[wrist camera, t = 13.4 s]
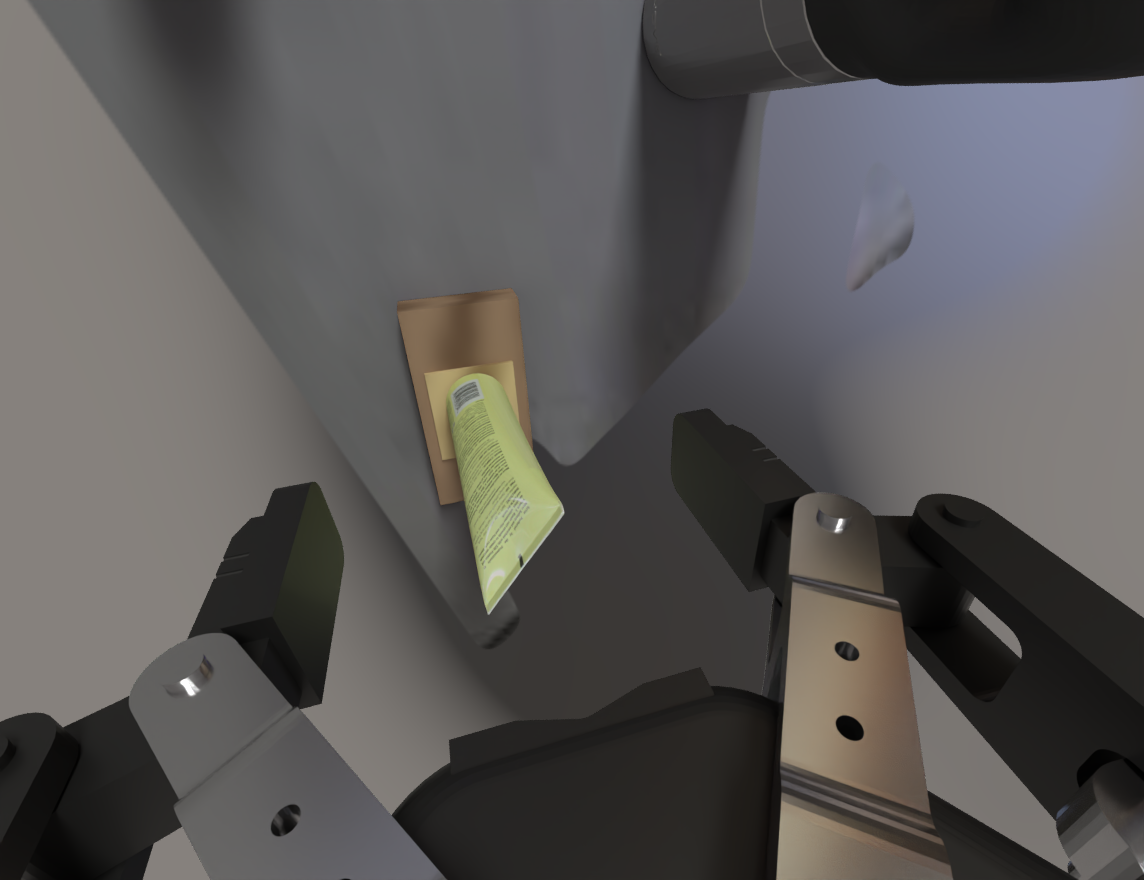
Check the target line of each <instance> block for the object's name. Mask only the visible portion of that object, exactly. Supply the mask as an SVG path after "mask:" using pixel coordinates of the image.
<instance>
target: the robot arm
mask: <svg viewBox="0 0 1144 880" xmlns="http://www.w3.org/2000/svg"><path fill="white" fill-rule="evenodd" d="M643 37H644V43H645V48H646V52H647V56H648V59H649V61H650V63H651V66H652V68H653V70H654V72H655V73H656V75H657V76H658V78H659V79H660V81H661V82H662V83H663V84H664V85H665V86H666V87H667V88H668V89H669V90H670V91H672V92H674V93H676V94H677V95H679V96H681V97H685V98H690V99H705V98H713V97H722V96H733V95H741V94H750V93H758V92H767V91H775V90H784V89H793V88H801V87H810V86H818V85H826V84H832V83H841V82H849V81H857V80H866V79H879V80H881V81H883V82H885V83H888V84H893V85H899V86H921V85H937V84H970V83H971V84H973V83H1056V82H1078V81H1099V80H1111V79H1120V78H1128V77H1136V76H1144V0H645V3H644V13H643ZM671 475H672V480H673V483H674V486H675V489H676V491H677V493H678V494H679V495H680V497H681V498H682V500H683V501H684V502H685V504H686V505H687V507H688V508H689V509H690V511H691V512H692V514H693V515H694V516H695V518H696V519H697V520H698V522H699V523H700V525H701V526H702V528H703V529H704V530H705V532H706V533H707V534H708V536H709V537H710V539H711V540H712V541H713V543H714V544H715V546H716V547H717V548H718V550H719V551H720V553H721V554H722V555H723V557H724V558H725V560H726V561H727V562H728V564H729V565H730V566H731V568H732V569H733V571H734V572H735V573H736V575H737V576H738V578H739V579H740V580H741V582H742V583H743V585H744V586H745V587H746V589H747V590H748V591H749V592H751V591H754V590H758V589H762V588H766V587H769V588H770V589H771V590H772V592H773V593H774V598H773V603H772V610H771V620H770V630H769V638H768V647H767V657H766V666H765V675H764V683H763V690H762V695H758V694H756V693H752V692H749V691H746V690H741V689H737V688H732V687H722V686H710V685H709V683H708V681H707V679H706V677H705V675H704V673H703V671H702V670H701V668H700V667H699V668H696V669H692V670H689V671H685V672H682V673H678V674H675V675H672V676H668V677H665V678H661V679H658V680H654V681H651V682H648V683H644V684H642V685H640V686H639V687H637V688H635V689H634V690H632V691H630V692H629V693H627V694H625V695H624V696H622V697H621V698H619V699H617V700H616V701H614V702H612V703H611V704H609V705H608V706H606V707H604V708H602V709H601V710H599V711H598V712H596V713H594V714H593V715H591V716H589V717H586V718H583V719H565V720H564V719H563V720H528V721H513V722H510V723H506V724H503V725H499V726H496V727H493V728H489V729H485V730H482V731H479V732H475V733H472V734H468V735H465V736H461V737H458V738H454V739H451V740H449V746H450V763H449V764H447V765H445V766H444V767H442V768H441V769H439V770H438V771H437V772H435V773H434V774H432V775H431V776H430V777H429V778H427V779H426V780H424V781H423V782H422V783H421V784H420V785H419V786H418V787H417V788H416V789H415V790H414V791H413V792H411V793H410V794H409V795H408V796H407V798H406V799H405V800H404V801H403V802H402V803H401V804H400V806H399V807H398V808H397V809H396V810H395V812H394V813H393V814H392V815H391V814H390V813H389V812H388V811H387V810H386V809H385V807H384V806H383V805H382V804H381V803H380V802H379V801H378V799H377V798H376V797H375V796H374V795H373V793H372V792H371V791H370V790H369V789H368V788H367V787H366V785H365V784H364V783H363V782H362V781H361V780H360V778H359V777H358V776H357V775H356V774H355V773H354V771H353V770H352V769H351V768H350V767H349V766H348V764H347V763H346V762H345V761H344V760H343V759H342V758H341V756H340V755H339V754H338V753H337V752H336V751H335V749H334V748H333V747H332V746H331V745H330V743H329V742H328V741H327V740H326V739H325V738H324V737H323V735H322V734H321V733H320V732H319V731H318V730H317V728H316V727H315V726H314V725H313V724H312V723H311V721H310V720H309V719H308V718H307V717H306V716H305V714H303V712H302V711H301V710H300V709H303V708H307V707H311V706H314V705H318V704H321V703H322V698H323V692H324V685H325V679H326V672H327V667H328V660H329V653H330V647H331V642H332V635H333V628H334V623H335V616H336V610H337V604H338V597H339V592H340V585H341V579H342V573H343V566H344V552H343V546H342V541H341V538H340V535H339V533H338V530H337V528H336V525H335V523H334V520H333V518H332V516H331V513H330V510H329V508H328V505H327V503H326V500H325V498H324V496H323V493H322V491H321V488H320V487H319V485H318V484H317V483H316V482H310V483H304V484H299V485H293V486H288V487H283V488H278V489H275V490H274V491H273V493H272V496H271V498H270V501H269V503H268V506H267V509H266V512H265V514H264V516H260V517H255V518H251V519H250V520H249V521H248V522H247V523H246V524H245V525H244V526H243V527H242V528H241V529H240V530H239V531H238V532H237V533H236V534H235V535H234V536H233V537H232V539H231V541H230V544H229V546H228V548H227V551H226V553H225V555H224V557H223V558H224V561H223V562H221V564H220V566H219V569H218V571H217V573H216V577H217V578H216V579H214V580H213V582H212V584H211V587H210V589H209V591H208V593H207V596H206V598H205V600H204V603H203V605H202V607H201V609H200V612H199V614H198V616H197V618H196V621H195V623H194V625H193V627H192V630H191V632H190V634H189V636H188V639H187V640H186V641H183V642H181V643H179V644H177V645H175V646H174V647H172V648H170V649H168V650H167V651H166V652H164V653H163V654H162V655H160V656H159V657H158V658H156V659H155V660H154V661H153V662H152V663H151V664H150V665H149V666H148V667H147V668H146V669H145V670H144V671H143V672H142V673H141V675H140V676H139V677H138V679H137V680H136V682H135V684H134V685H133V688H132V690H131V692H130V696H128V697H126V698H124V699H122V700H120V701H118V702H116V703H114V704H112V705H110V706H107V707H105V708H103V709H101V710H99V711H97V712H95V713H93V714H91V715H89V716H86V717H84V718H82V719H80V720H78V721H76V722H74V723H71V724H70V725H67V726H65V727H62V726H61V725H59V724H58V723H57V722H56V721H55V720H54V719H53V718H52V717H51V716H49V715H46V714H44V713H27V714H23V715H18V716H15V717H12V718H9V719H6V720H4V721H1V722H0V880H143V876H144V873H145V870H146V867H147V863H148V860H149V857H150V854H151V851H152V847H153V844H154V843H155V842H157V841H159V840H160V839H162V838H164V837H165V836H167V835H169V834H170V833H172V832H174V831H175V830H177V829H179V828H181V827H183V829H184V831H185V833H186V835H187V837H188V838H189V840H190V842H191V844H192V846H193V848H194V850H195V852H196V853H197V855H198V857H199V859H200V861H201V863H202V865H203V867H204V869H205V871H206V872H207V874H208V876H209V878H210V880H1144V618H1143V617H1142V616H1140V615H1139V614H1137V613H1136V612H1135V611H1133V610H1132V609H1130V608H1129V607H1128V606H1126V605H1125V604H1123V603H1122V602H1121V601H1119V600H1118V599H1116V598H1115V597H1114V596H1112V595H1111V594H1110V593H1108V592H1107V591H1105V590H1104V589H1103V588H1101V587H1100V586H1098V585H1097V584H1096V583H1094V582H1093V581H1091V580H1090V579H1089V578H1087V577H1086V576H1084V575H1083V574H1081V573H1080V572H1079V571H1077V570H1076V569H1075V568H1073V567H1072V566H1070V565H1069V564H1068V563H1066V562H1065V561H1063V560H1062V559H1061V558H1059V557H1058V556H1056V555H1055V554H1054V553H1052V552H1051V551H1049V550H1048V549H1046V548H1045V547H1044V546H1042V545H1041V544H1040V543H1038V542H1037V541H1035V540H1034V539H1033V538H1031V537H1030V536H1028V535H1027V534H1025V533H1024V532H1023V531H1021V530H1020V529H1019V528H1017V527H1016V526H1014V525H1013V524H1012V523H1010V522H1009V521H1007V520H1006V519H1005V518H1003V517H1002V516H1000V515H999V514H998V513H996V512H995V511H993V510H992V509H990V508H989V507H987V506H985V505H983V504H981V503H979V502H977V501H974V500H972V499H969V498H966V497H962V496H957V495H951V494H931V495H927V496H925V497H923V498H921V499H920V500H919V501H918V503H917V505H916V508H915V510H914V513H913V515H912V516H874V515H872V514H871V513H870V512H869V510H867V509H866V508H865V507H864V506H862V505H861V504H860V503H858V502H856V501H854V500H852V499H850V498H848V497H845V496H842V495H838V494H834V493H823V492H819V493H817V492H815V491H814V490H813V489H812V488H811V487H810V486H809V485H808V484H807V483H806V482H804V481H803V480H802V479H801V478H800V477H799V476H798V475H797V474H796V473H795V472H793V471H792V470H791V469H790V468H789V467H788V466H787V465H786V464H785V463H784V462H782V461H781V460H780V459H777V456H776V455H775V454H774V453H773V452H771V451H770V450H769V449H766V447H765V445H764V444H763V443H762V442H760V441H759V440H758V439H757V438H756V437H755V436H754V435H753V434H752V433H749V432H747V431H745V430H743V429H741V428H739V427H737V426H734V425H726V424H725V423H724V422H723V421H722V420H721V419H719V418H718V417H717V416H716V415H715V414H714V413H713V412H712V411H711V410H710V409H701V410H697V411H691V412H686V413H680V414H677V415H676V416H675V418H674V423H673V439H672V456H671ZM975 597H976V598H977V599H978V600H979V601H981V602H982V603H983V604H984V605H985V606H986V607H987V608H988V609H989V610H990V611H991V612H993V613H994V614H995V615H996V616H997V617H998V618H999V619H1000V620H1001V621H1003V622H1004V623H1005V624H1006V625H1007V626H1008V627H1009V628H1010V629H1011V630H1012V631H1013V632H1014V634H1015V635H1016V637H1017V638H1018V640H1019V642H1020V645H1021V649H1022V658H1021V659H1020V658H1019V657H1018V656H1017V655H1016V654H1015V653H1014V652H1013V651H1012V650H1011V649H1010V648H1009V647H1008V646H1006V645H1005V644H1004V643H1003V642H1002V641H1001V640H1000V639H999V638H998V637H997V636H996V635H995V634H993V632H992V631H990V629H988V628H987V627H986V626H985V625H984V624H983V623H982V622H981V621H980V620H979V619H978V618H977V617H976V616H975V615H974V614H973V613H971V612H970V611H969V610H968V609H969V607H970V605H971V603H972V601H973V600H974V598H975ZM906 648H907V649H906ZM907 650H908V651H909V652H910V653H911V654H912V655H913V656H914V657H915V659H916V660H917V661H918V662H919V664H920V665H921V666H922V667H923V668H924V669H925V670H926V672H927V673H928V674H929V675H930V676H931V677H932V678H933V680H934V681H935V682H936V683H937V684H938V685H939V687H940V688H941V689H942V690H943V691H944V692H945V694H946V695H947V696H948V697H949V698H950V699H951V701H952V702H953V703H954V704H955V705H956V706H957V707H958V709H959V710H960V711H961V712H962V713H963V714H964V715H965V717H966V718H967V719H968V720H969V721H970V722H971V724H972V725H973V726H974V727H975V728H976V729H977V731H978V732H979V733H980V734H981V735H982V736H983V737H984V738H985V740H986V741H987V742H988V743H989V744H990V745H991V747H992V748H993V749H994V750H995V751H996V753H997V754H998V755H999V756H1000V757H1001V758H1002V759H1003V761H1004V762H1005V763H1006V764H1007V765H1008V766H1009V768H1010V769H1011V770H1012V771H1013V772H1014V773H1015V774H1016V776H1017V777H1018V778H1019V779H1020V780H1021V781H1022V782H1023V784H1024V785H1025V786H1026V787H1027V788H1028V789H1029V791H1030V792H1031V793H1032V794H1033V795H1034V796H1035V797H1036V799H1037V800H1038V801H1039V802H1040V803H1041V805H1042V806H1043V807H1044V808H1045V809H1046V810H1047V811H1048V813H1049V814H1050V815H1051V816H1052V817H1053V818H1054V820H1055V821H1056V829H1057V833H1058V837H1059V840H1060V842H1061V844H1062V847H1063V849H1064V850H1065V852H1066V854H1067V856H1068V858H1069V859H1070V861H1069V863H1068V873H1069V874H1068V873H1067V872H1065V871H1063V870H1062V869H1060V868H1058V867H1056V866H1055V865H1053V864H1051V863H1050V862H1048V861H1046V860H1045V859H1043V858H1041V857H1039V856H1038V855H1036V854H1034V853H1032V852H1031V851H1029V850H1028V849H1026V848H1024V847H1022V846H1021V845H1019V844H1017V843H1016V842H1014V841H1012V840H1010V839H1009V838H1007V837H1005V836H1004V835H1002V834H1000V833H999V832H997V831H995V830H994V829H992V828H990V827H989V826H987V825H985V824H984V823H982V822H980V821H978V820H977V819H975V818H973V817H972V816H970V815H968V814H967V813H965V812H963V811H961V810H960V809H958V808H956V807H955V806H953V805H951V804H950V803H948V802H946V801H944V800H943V799H941V798H940V797H938V796H936V795H934V794H933V793H931V792H929V791H928V790H927V786H926V779H925V772H924V766H923V758H922V752H921V745H920V738H919V731H918V724H917V717H916V711H915V704H914V697H913V691H912V683H911V677H910V670H909V663H908V656H907Z"/></svg>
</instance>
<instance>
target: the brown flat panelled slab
mask: <svg viewBox="0 0 1144 880" xmlns="http://www.w3.org/2000/svg"><path fill="white" fill-rule="evenodd" d="M397 314H398V318H399V322H400V327H401V331H402V336H403V340H404V345H405V349H406V354H407V358H408V362H409V367H410V371H411V376H412V380H413V385H414V389H415V393H416V398H417V402H418V407H419V411H420V416H421V420H422V424H423V429H424V433H425V438H426V442H427V447H428V451H429V456H430V460H431V464H432V469H433V473H434V478H435V482H436V487H437V491H438V495H439V500H440V504H441V505H444V504H449V503H454V502H459V501H464V496H463V491H462V485H461V480H460V475H459V469H458V464H457V459H456V454H455V449H454V443H453V438H452V433H451V428H450V423H449V418H448V413H447V406H446V398H447V394H448V391H449V389H450V388H451V386H452V385H453V384H454V383H455V382H456V381H457V380H458V379H460V378H462V377H464V376H466V375H469V374H475V373H480V374H486V375H489V376H491V377H493V378H495V379H496V380H497V381H499V382H500V384H501V385H502V386H503V388H504V390H505V392H506V394H507V396H508V399H509V401H510V403H511V406H512V408H513V410H514V412H515V415H516V417H517V419H518V421H519V424H520V426H521V428H522V430H523V432H524V434H525V437H526V439H527V441H528V443H529V445H530V447H531V449H532V451H533V447H532V435H531V425H530V415H529V404H528V394H527V384H526V374H525V364H524V353H523V343H522V333H521V323H520V312H519V302H518V297H517V296H516V294H515V293H514V291H513V290H512V289H511V288H509V289H501V290H492V291H483V292H475V293H466V294H458V295H449V296H441V297H432V298H423V299H415V300H406V301H398V306H397Z"/></svg>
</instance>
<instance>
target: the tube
mask: <svg viewBox="0 0 1144 880" xmlns="http://www.w3.org/2000/svg"><path fill="white" fill-rule="evenodd" d="M446 406H447V413H448V418H449V423H450V428H451V433H452V438H453V443H454V449H455V454H456V459H457V464H458V469H459V475H460V480H461V485H462V491H463V496H464V501H465V507H466V512H467V517H468V522H469V528H470V533H471V538H472V543H473V548H474V554H475V559H476V564H477V570H478V575H479V580H480V585H481V590H482V595H483V599H484V604H485V607H486V610H487V613H488V615H489V614H490V613H491V612H492V610H493V609H494V607H495V606H496V605H497V603H498V602H499V600H500V599H501V598H502V596H503V595H504V594H505V592H506V591H507V590H508V588H509V587H510V586H511V584H512V583H513V582H514V580H515V579H516V577H517V576H518V575H519V573H520V572H521V570H522V569H523V568H524V566H525V565H526V564H527V562H528V561H529V560H530V559H531V557H532V556H533V555H534V553H535V552H536V551H537V549H538V548H539V547H540V545H541V544H542V543H543V541H544V540H545V539H546V538H547V536H548V535H549V534H550V532H551V531H552V530H553V528H554V527H555V526H556V524H557V523H558V522H559V520H560V519H561V518H562V516H563V515H564V509H563V506H562V503H561V502H560V500H559V499H558V498H557V496H556V494H555V493H554V491H553V489H552V488H551V486H550V484H549V482H548V481H547V479H546V477H545V475H544V473H543V471H542V469H541V467H540V465H539V463H538V461H537V459H536V457H535V455H534V453H533V451H532V449H531V447H530V445H529V443H528V441H527V439H526V437H525V434H524V432H523V430H522V428H521V426H520V424H519V421H518V419H517V417H516V415H515V412H514V410H513V408H512V406H511V403H510V401H509V399H508V396H507V394H506V392H505V390H504V388H503V386H502V385H501V384H500V382H499V381H497V380H496V379H495V378H493V377H491V376H489V375H486V374H480V373H475V374H469V375H466V376H464V377H462V378H460V379H458V380H457V381H456V382H455V383H454V384H453V385H452V386H451V388H450V389H449V391H448V394H447V398H446Z"/></svg>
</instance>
